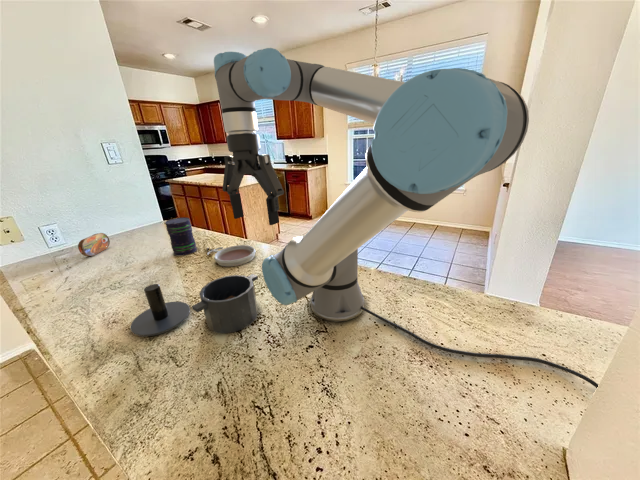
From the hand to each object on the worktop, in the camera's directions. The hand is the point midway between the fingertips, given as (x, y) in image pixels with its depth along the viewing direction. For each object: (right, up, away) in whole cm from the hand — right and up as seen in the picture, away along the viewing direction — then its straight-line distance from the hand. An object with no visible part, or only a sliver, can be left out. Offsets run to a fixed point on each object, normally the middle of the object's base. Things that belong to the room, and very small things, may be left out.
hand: (255, 220), depth 69 cm
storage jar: (-45, -11, +52) cm, 70 cm away
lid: (-28, -27, +5) cm, 39 cm away
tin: (-90, -11, +57) cm, 107 cm away
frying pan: (-23, -12, +45) cm, 52 cm away
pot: (-7, -27, +5) cm, 28 cm away
